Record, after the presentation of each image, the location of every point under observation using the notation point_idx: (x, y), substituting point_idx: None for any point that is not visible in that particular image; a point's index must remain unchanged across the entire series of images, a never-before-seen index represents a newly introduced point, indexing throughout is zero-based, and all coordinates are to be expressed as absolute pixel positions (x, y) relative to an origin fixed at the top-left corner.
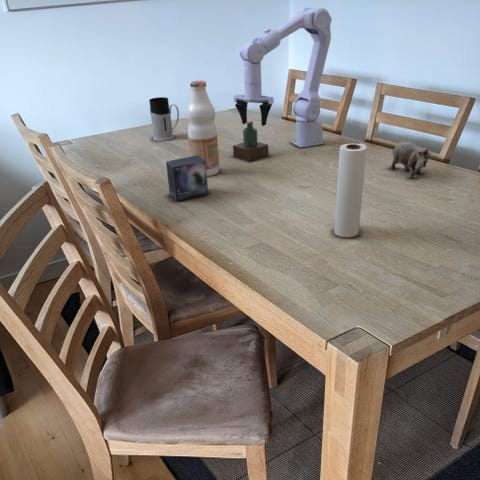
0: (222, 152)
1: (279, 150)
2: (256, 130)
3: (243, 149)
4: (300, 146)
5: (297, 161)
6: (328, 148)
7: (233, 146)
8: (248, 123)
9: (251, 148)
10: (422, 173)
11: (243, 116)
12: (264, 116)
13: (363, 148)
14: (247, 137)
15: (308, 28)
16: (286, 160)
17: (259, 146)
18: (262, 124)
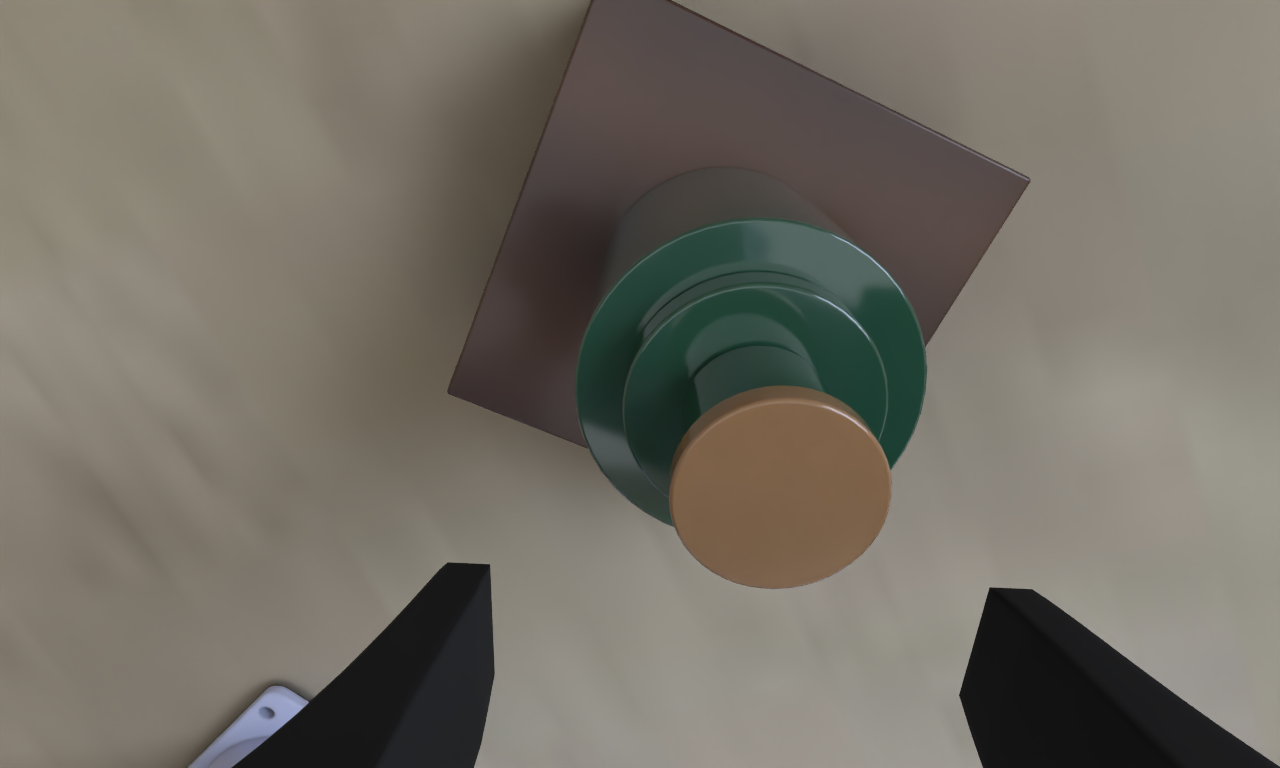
0: (1178, 303)
1: (463, 560)
2: (578, 398)
3: (763, 48)
4: (277, 693)
5: (4, 225)
6: (16, 730)
7: (1013, 172)
8: (777, 384)
9: (619, 102)
10: None
11: (1105, 747)
12: (289, 733)
13: None
14: (739, 195)
15: None
16: (160, 223)
17: (534, 258)
18: (455, 575)
